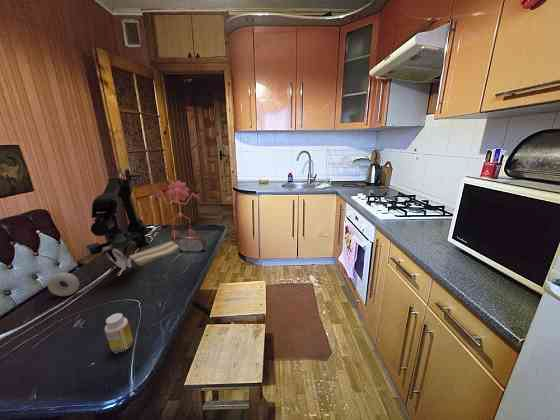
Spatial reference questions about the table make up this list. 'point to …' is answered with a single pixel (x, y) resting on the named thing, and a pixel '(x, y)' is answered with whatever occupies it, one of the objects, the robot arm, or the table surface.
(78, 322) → the blueberries
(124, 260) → the tongs
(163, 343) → the table surface
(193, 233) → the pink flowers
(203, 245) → the tin
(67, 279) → the donut
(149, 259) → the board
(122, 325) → the supplement bottle
